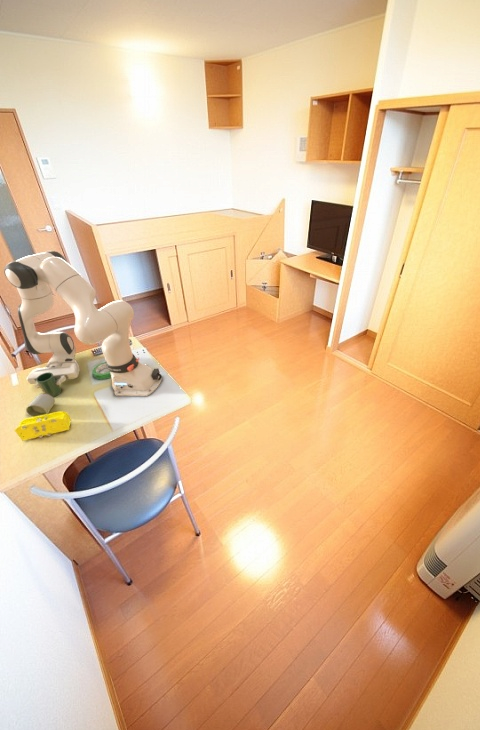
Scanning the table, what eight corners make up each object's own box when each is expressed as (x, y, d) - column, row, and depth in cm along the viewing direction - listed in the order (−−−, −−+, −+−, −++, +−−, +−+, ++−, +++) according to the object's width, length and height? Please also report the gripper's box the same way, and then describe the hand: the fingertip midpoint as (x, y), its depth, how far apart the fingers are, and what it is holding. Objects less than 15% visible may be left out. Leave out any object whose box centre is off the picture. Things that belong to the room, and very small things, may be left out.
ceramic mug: (59, 403, 128) (51, 390, 124) (50, 417, 122) (41, 404, 117) (33, 405, 128) (24, 392, 123) (23, 420, 121) (13, 407, 116)
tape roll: (94, 368, 148) (92, 364, 146) (117, 362, 152) (116, 358, 150) (94, 382, 140) (92, 377, 138) (118, 375, 143) (117, 371, 142)
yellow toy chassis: (23, 442, 112) (11, 428, 107) (27, 431, 116) (16, 417, 111) (70, 431, 116) (61, 417, 111) (72, 421, 121) (64, 407, 116)
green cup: (64, 387, 137) (55, 372, 131) (57, 397, 132) (48, 381, 126) (49, 388, 136) (40, 372, 130) (42, 398, 131) (33, 382, 125)
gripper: (30, 364, 137) (18, 383, 126) (78, 358, 141) (70, 376, 130) (37, 374, 141) (25, 394, 130) (83, 368, 145) (75, 387, 134)
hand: (48, 385), depth 130 cm, fingers closed on green cup, 6 cm apart
